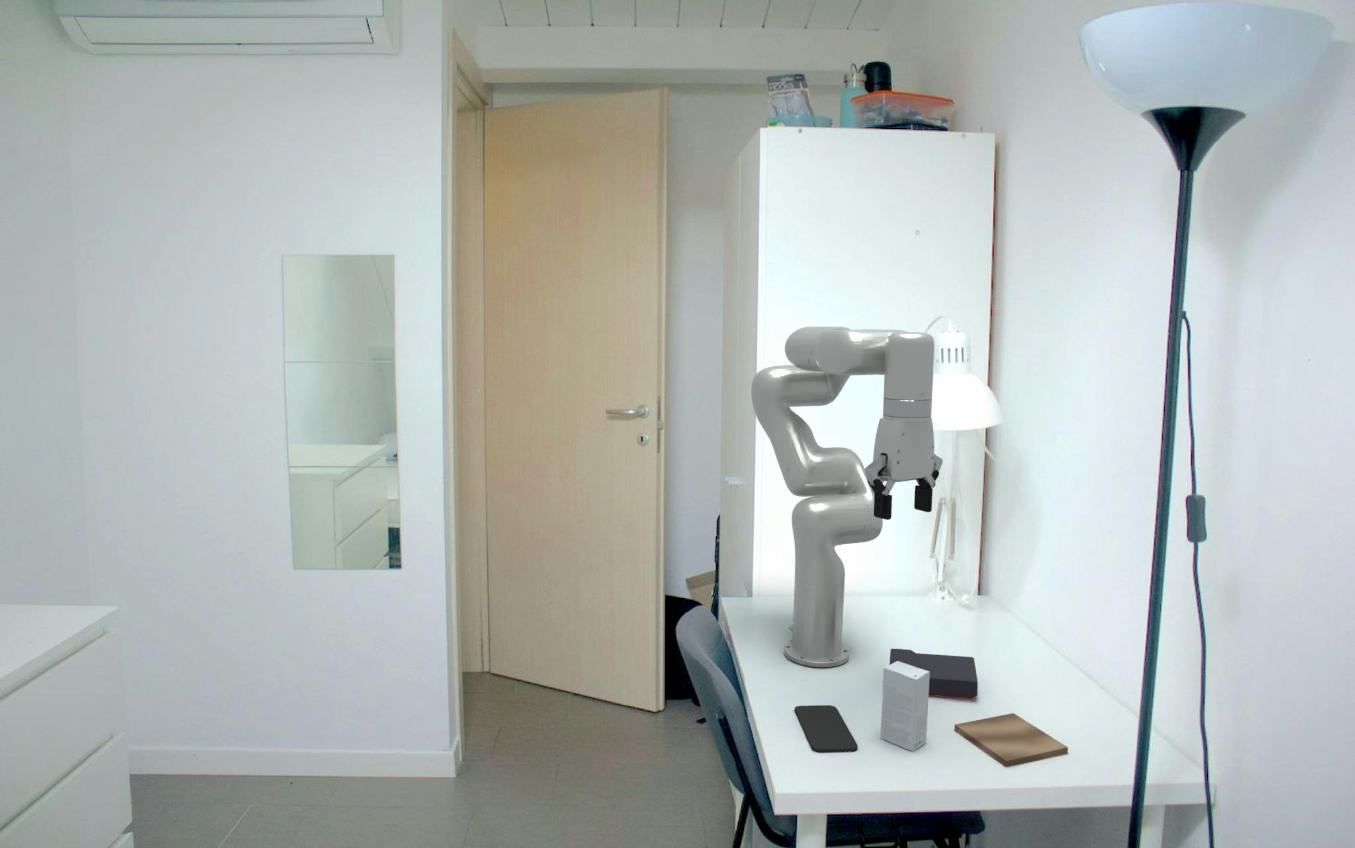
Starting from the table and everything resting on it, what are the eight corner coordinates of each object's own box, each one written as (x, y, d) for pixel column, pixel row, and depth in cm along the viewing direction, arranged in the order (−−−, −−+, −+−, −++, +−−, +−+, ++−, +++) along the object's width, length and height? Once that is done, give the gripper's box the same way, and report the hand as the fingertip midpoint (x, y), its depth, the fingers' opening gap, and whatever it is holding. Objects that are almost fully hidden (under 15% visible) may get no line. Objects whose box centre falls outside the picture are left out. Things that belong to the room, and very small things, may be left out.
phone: (835, 704, 154) (860, 748, 139) (835, 709, 154) (859, 753, 140) (792, 705, 154) (813, 749, 139) (792, 710, 154) (812, 754, 139)
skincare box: (926, 743, 143) (931, 671, 141) (912, 752, 140) (917, 679, 138) (893, 729, 147) (897, 659, 145) (878, 738, 144) (882, 667, 142)
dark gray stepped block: (973, 675, 167) (890, 669, 171) (974, 653, 166) (890, 648, 170) (977, 701, 157) (888, 694, 160) (977, 678, 156) (888, 671, 160)
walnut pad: (954, 730, 147) (954, 724, 147) (1013, 718, 151) (1013, 713, 151) (1005, 767, 136) (1006, 761, 136) (1067, 753, 140) (1068, 747, 140)
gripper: (924, 404, 152) (919, 503, 154) (851, 410, 142) (848, 516, 145) (961, 408, 146) (956, 512, 148) (888, 415, 136) (883, 526, 139)
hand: (902, 514), depth 146 cm, fingers open, 9 cm apart
